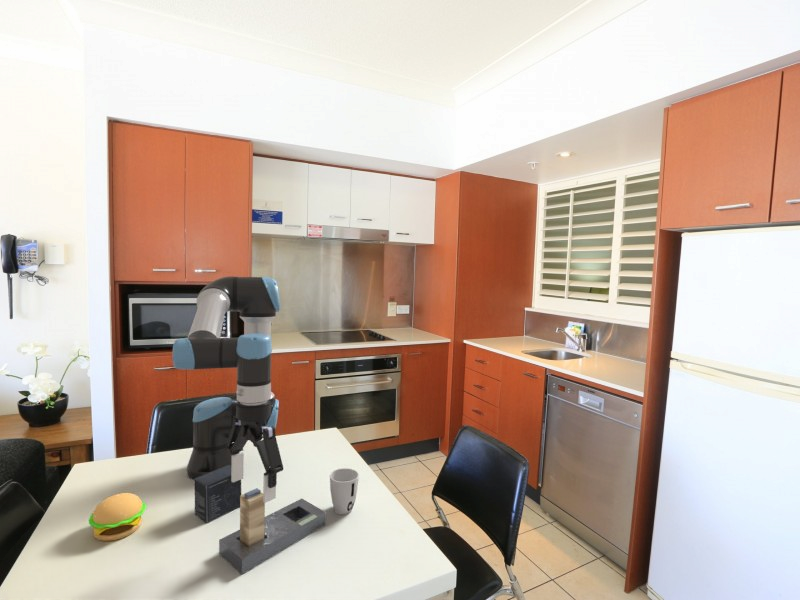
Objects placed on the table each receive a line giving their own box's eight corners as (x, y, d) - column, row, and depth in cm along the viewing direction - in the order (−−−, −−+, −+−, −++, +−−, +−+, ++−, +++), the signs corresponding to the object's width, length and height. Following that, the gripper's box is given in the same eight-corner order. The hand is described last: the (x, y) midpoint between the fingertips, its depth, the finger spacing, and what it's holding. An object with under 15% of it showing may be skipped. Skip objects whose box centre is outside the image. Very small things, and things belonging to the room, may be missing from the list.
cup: (352, 519, 112) (353, 483, 111) (324, 514, 113) (325, 479, 113) (361, 503, 120) (362, 470, 119) (335, 499, 121) (335, 466, 121)
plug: (239, 552, 97) (240, 492, 96) (254, 544, 100) (255, 485, 99) (248, 560, 95) (249, 498, 94) (264, 551, 98) (265, 491, 97)
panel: (219, 554, 96) (219, 539, 96) (301, 510, 115) (301, 497, 115) (241, 574, 90) (242, 558, 90) (325, 524, 109) (325, 511, 109)
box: (229, 498, 120) (229, 463, 119) (242, 506, 116) (242, 470, 116) (193, 515, 111) (193, 477, 111) (206, 524, 108) (206, 485, 107)
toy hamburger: (85, 551, 96) (85, 516, 95) (91, 524, 106) (91, 492, 105) (146, 535, 102) (146, 502, 102) (145, 511, 112) (145, 480, 112)
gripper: (211, 393, 100) (211, 478, 101) (270, 417, 85) (269, 516, 86) (240, 387, 106) (239, 467, 107) (300, 408, 90) (298, 502, 91)
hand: (252, 489), depth 96 cm, fingers open, 13 cm apart
